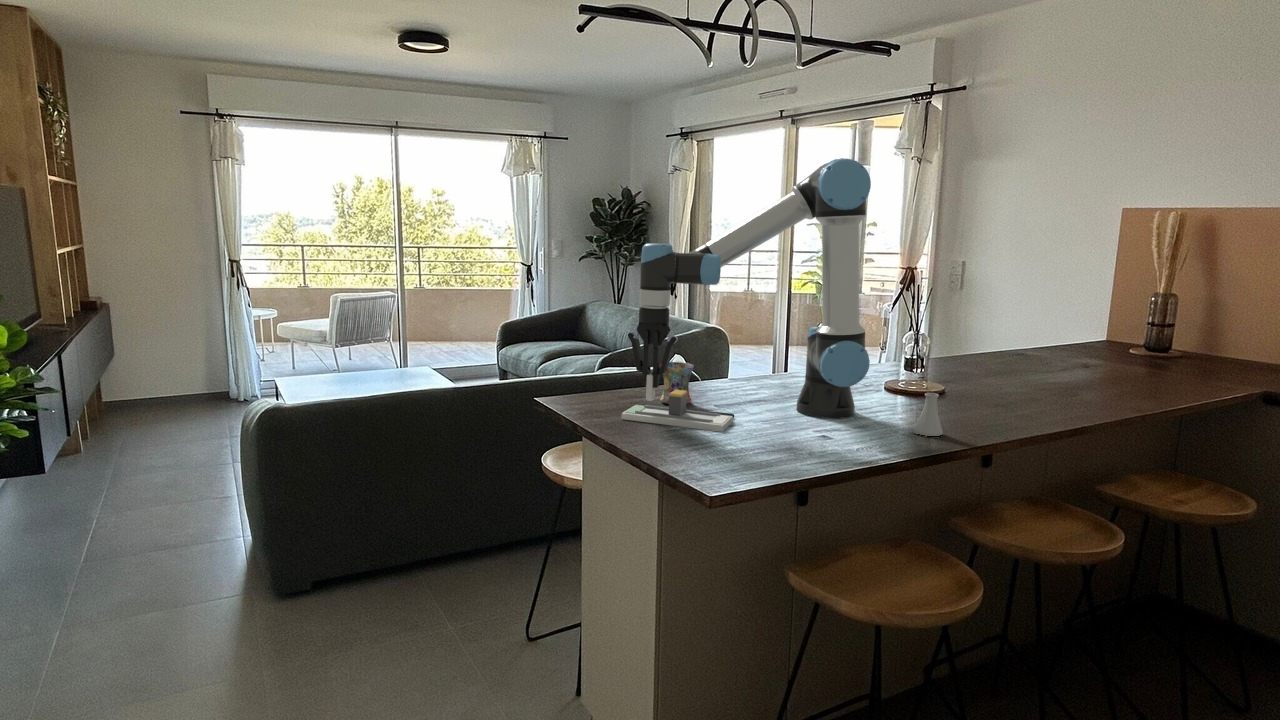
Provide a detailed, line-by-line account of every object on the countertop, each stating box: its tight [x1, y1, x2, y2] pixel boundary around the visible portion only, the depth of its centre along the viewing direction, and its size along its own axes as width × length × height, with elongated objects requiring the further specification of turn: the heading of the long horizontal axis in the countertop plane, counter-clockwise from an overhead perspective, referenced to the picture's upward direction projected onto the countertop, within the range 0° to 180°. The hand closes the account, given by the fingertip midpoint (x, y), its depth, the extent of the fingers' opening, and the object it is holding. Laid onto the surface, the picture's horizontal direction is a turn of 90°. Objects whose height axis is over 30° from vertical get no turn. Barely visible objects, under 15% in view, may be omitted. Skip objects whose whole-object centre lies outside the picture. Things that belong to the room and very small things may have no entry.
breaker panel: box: [621, 404, 734, 433], centre depth 192 cm, size 26×10×2 cm, turn 69°
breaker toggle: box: [668, 390, 687, 416], centre depth 192 cm, size 3×5×6 cm, turn 160°
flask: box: [912, 392, 944, 437], centre depth 186 cm, size 7×7×10 cm
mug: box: [660, 361, 695, 405], centre depth 212 cm, size 12×9×11 cm
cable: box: [657, 405, 735, 419], centre depth 199 cm, size 23×1×1 cm, turn 73°
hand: (650, 399), depth 194 cm, fingers closed
